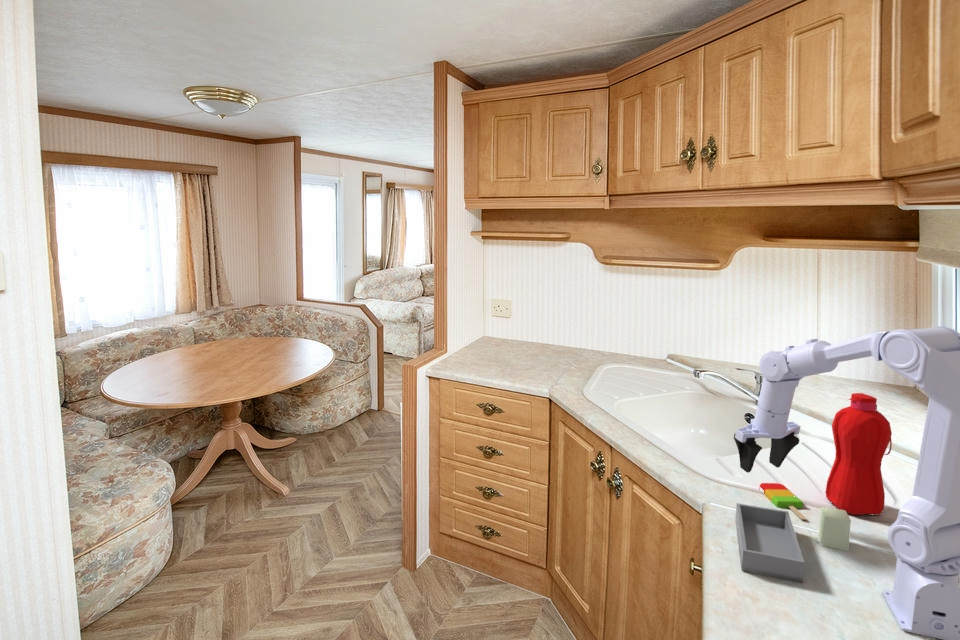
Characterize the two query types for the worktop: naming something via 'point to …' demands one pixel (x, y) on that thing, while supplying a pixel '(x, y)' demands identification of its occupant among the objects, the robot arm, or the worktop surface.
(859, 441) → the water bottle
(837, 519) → the sage block
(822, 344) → the robot arm
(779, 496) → the popsicle
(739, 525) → the bin
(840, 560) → the worktop surface
